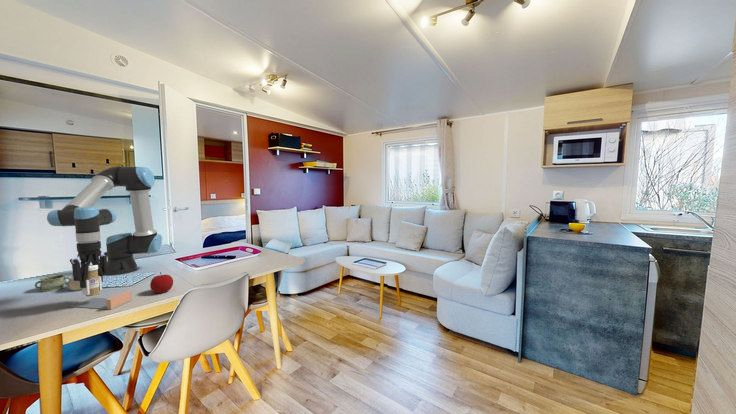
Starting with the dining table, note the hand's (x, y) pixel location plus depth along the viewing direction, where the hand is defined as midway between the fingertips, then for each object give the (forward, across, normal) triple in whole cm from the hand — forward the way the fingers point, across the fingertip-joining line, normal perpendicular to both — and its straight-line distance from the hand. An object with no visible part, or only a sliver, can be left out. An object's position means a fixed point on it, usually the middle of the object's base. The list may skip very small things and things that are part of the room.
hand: (92, 292), depth 121 cm
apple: (+6, -16, +19) cm, 26 cm away
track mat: (+5, 0, +4) cm, 7 cm away
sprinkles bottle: (+1, 0, 0) cm, 1 cm away
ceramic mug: (+6, -15, -25) cm, 30 cm away
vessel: (+6, -12, -38) cm, 40 cm away
